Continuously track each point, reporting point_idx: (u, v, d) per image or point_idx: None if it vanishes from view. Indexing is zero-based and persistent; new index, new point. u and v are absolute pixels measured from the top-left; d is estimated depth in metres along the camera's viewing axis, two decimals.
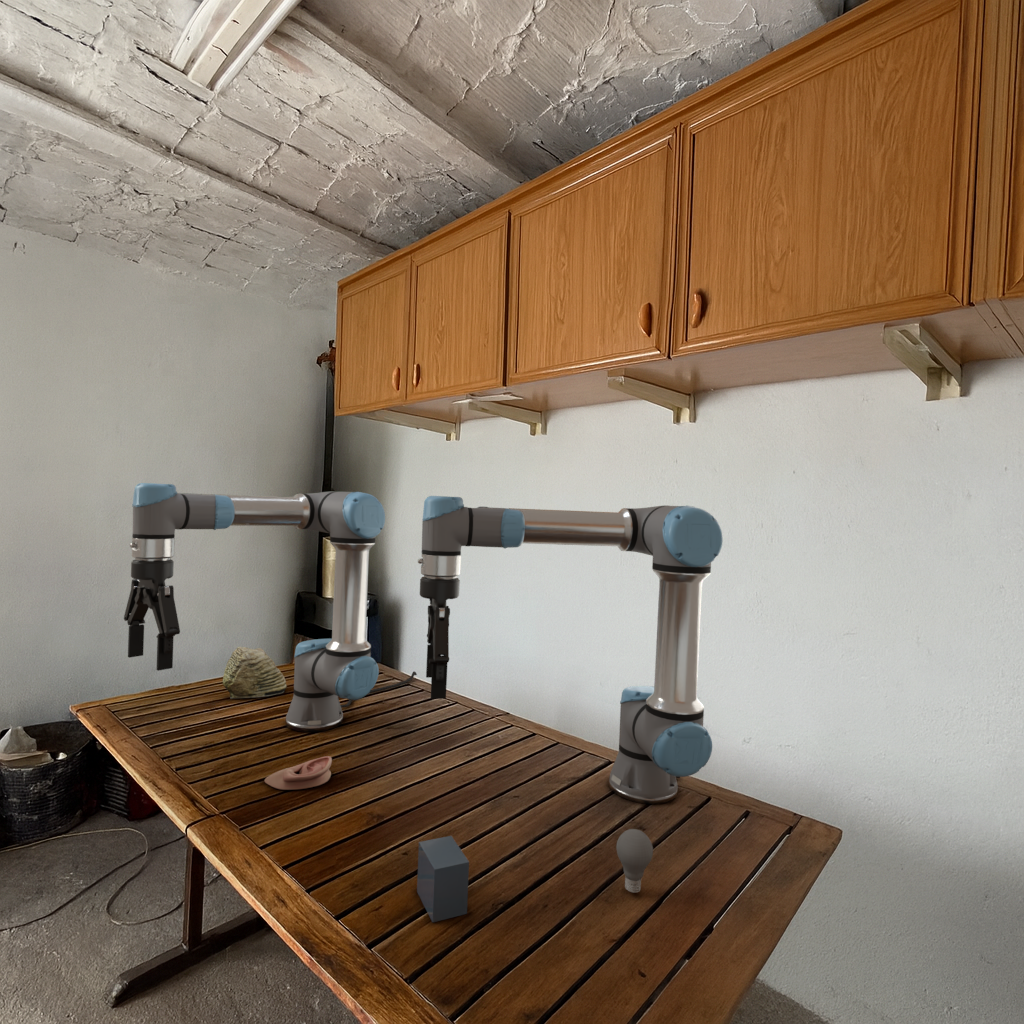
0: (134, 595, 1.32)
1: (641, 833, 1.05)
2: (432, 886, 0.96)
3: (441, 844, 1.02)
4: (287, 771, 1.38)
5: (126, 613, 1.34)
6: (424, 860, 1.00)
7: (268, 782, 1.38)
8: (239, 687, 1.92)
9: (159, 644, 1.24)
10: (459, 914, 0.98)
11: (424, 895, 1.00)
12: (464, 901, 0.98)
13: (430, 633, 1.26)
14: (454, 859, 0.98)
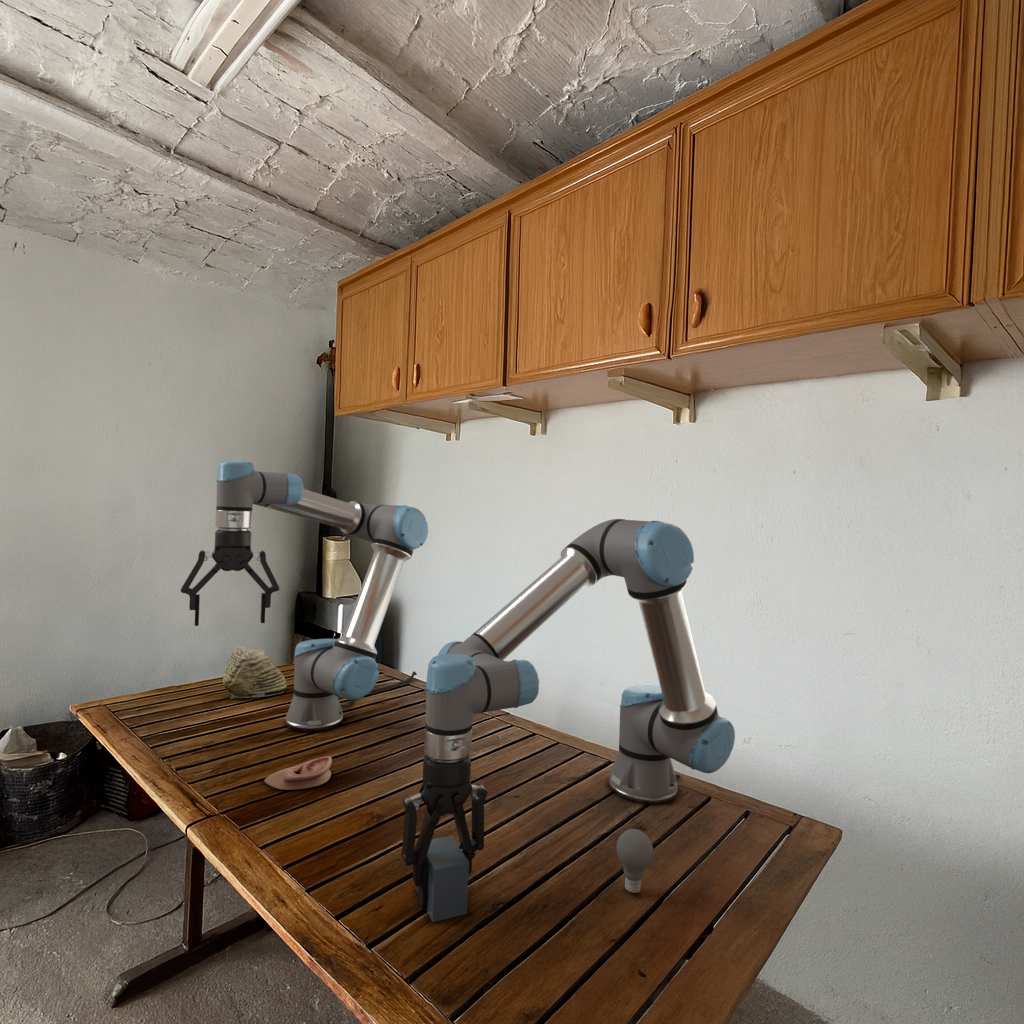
0: None
1: (641, 833, 1.05)
2: (432, 886, 0.96)
3: (441, 844, 1.02)
4: (287, 771, 1.38)
5: (186, 585, 1.38)
6: None
7: (268, 782, 1.38)
8: (239, 687, 1.92)
9: (265, 600, 1.45)
10: (459, 914, 0.98)
11: None
12: (464, 901, 0.98)
13: None
14: (454, 859, 0.98)
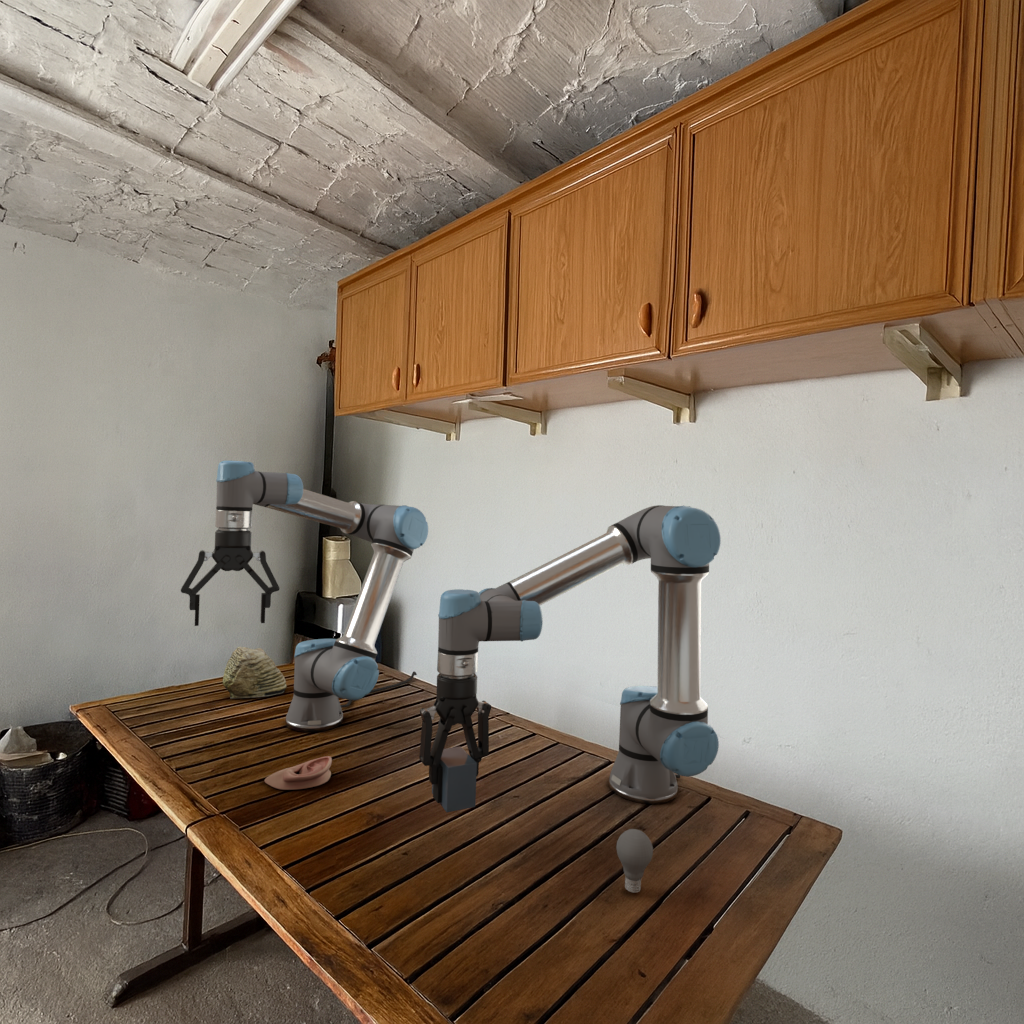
0: None
1: (641, 833, 1.05)
2: (446, 782, 1.14)
3: (452, 752, 1.20)
4: (287, 771, 1.38)
5: (186, 585, 1.38)
6: None
7: (268, 782, 1.38)
8: (239, 687, 1.92)
9: (265, 600, 1.45)
10: (469, 806, 1.15)
11: None
12: (472, 796, 1.16)
13: None
14: (464, 761, 1.16)
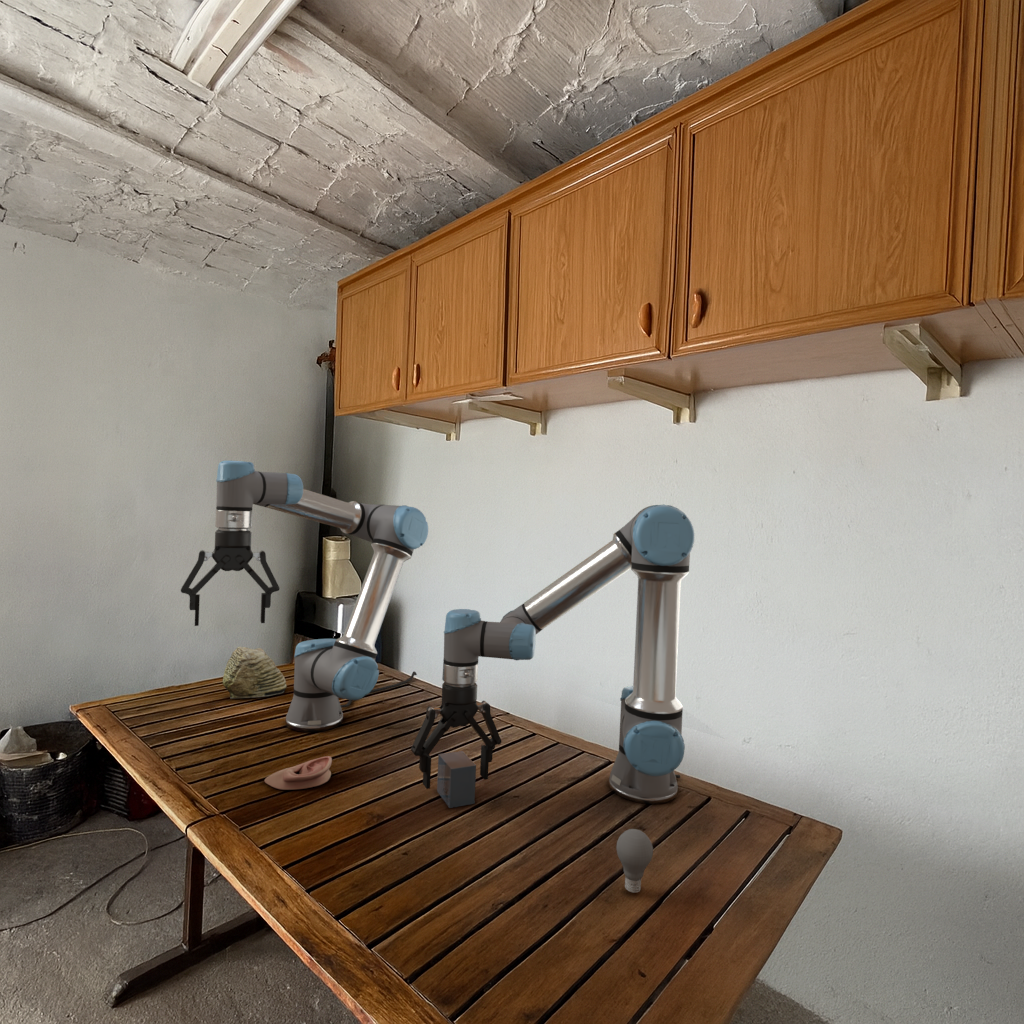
0: None
1: (641, 833, 1.05)
2: (449, 781, 1.32)
3: (455, 755, 1.38)
4: (287, 771, 1.38)
5: (186, 585, 1.38)
6: (443, 765, 1.35)
7: (268, 782, 1.38)
8: (239, 687, 1.92)
9: (265, 600, 1.45)
10: (468, 803, 1.33)
11: (443, 791, 1.35)
12: (472, 794, 1.33)
13: None
14: (465, 763, 1.34)
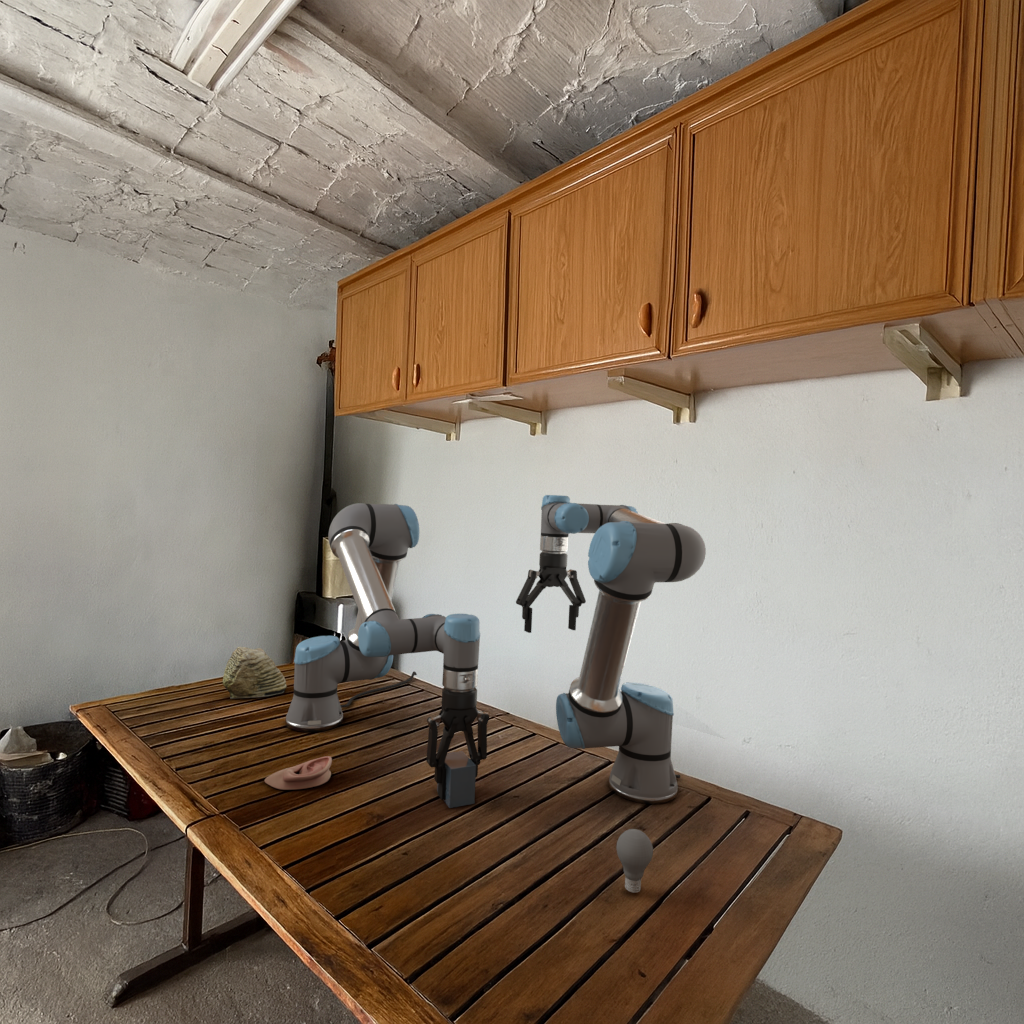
0: None
1: (641, 833, 1.05)
2: (449, 781, 1.32)
3: (455, 755, 1.38)
4: (287, 771, 1.38)
5: (432, 758, 1.32)
6: None
7: (268, 782, 1.38)
8: (239, 687, 1.92)
9: None
10: (468, 803, 1.33)
11: None
12: (472, 794, 1.33)
13: None
14: (465, 763, 1.34)
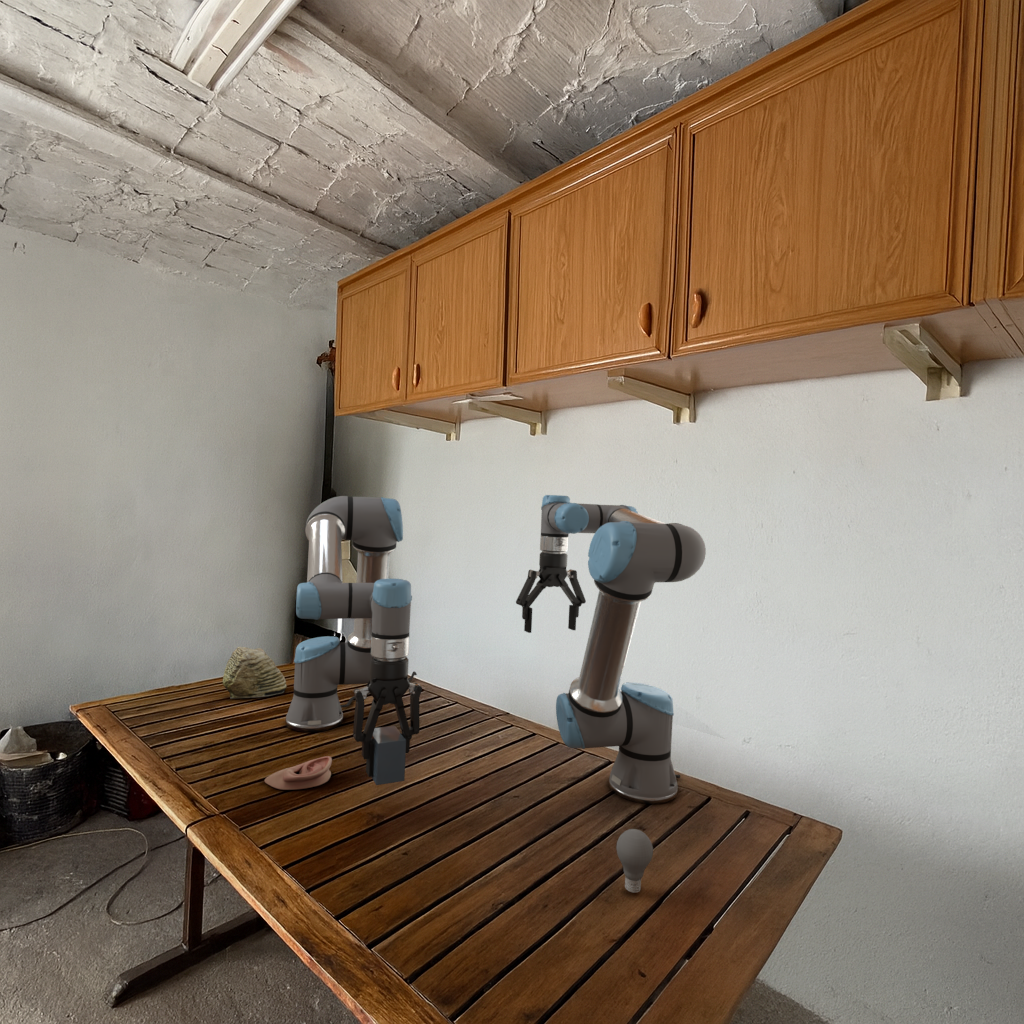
0: None
1: (641, 833, 1.05)
2: (376, 757, 1.23)
3: (385, 730, 1.29)
4: (287, 771, 1.38)
5: (358, 732, 1.23)
6: None
7: (268, 782, 1.38)
8: (239, 687, 1.92)
9: None
10: (398, 780, 1.24)
11: None
12: (402, 770, 1.25)
13: None
14: (394, 738, 1.25)
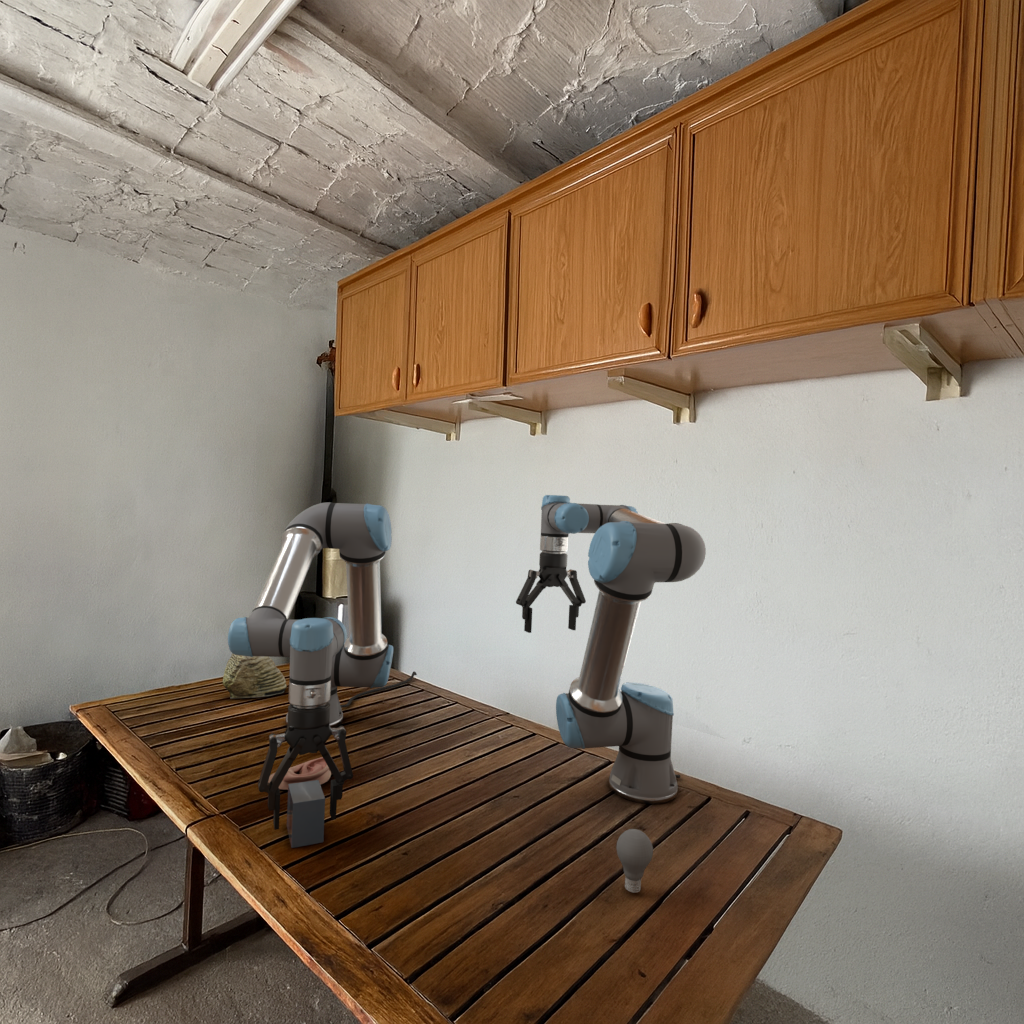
0: (275, 755, 1.15)
1: (641, 833, 1.05)
2: (292, 817, 1.15)
3: (306, 786, 1.21)
4: None
5: (264, 782, 1.14)
6: (290, 798, 1.18)
7: (268, 782, 1.38)
8: (239, 687, 1.92)
9: (336, 792, 1.20)
10: (316, 842, 1.16)
11: (289, 827, 1.18)
12: (320, 831, 1.16)
13: None
14: (313, 796, 1.17)
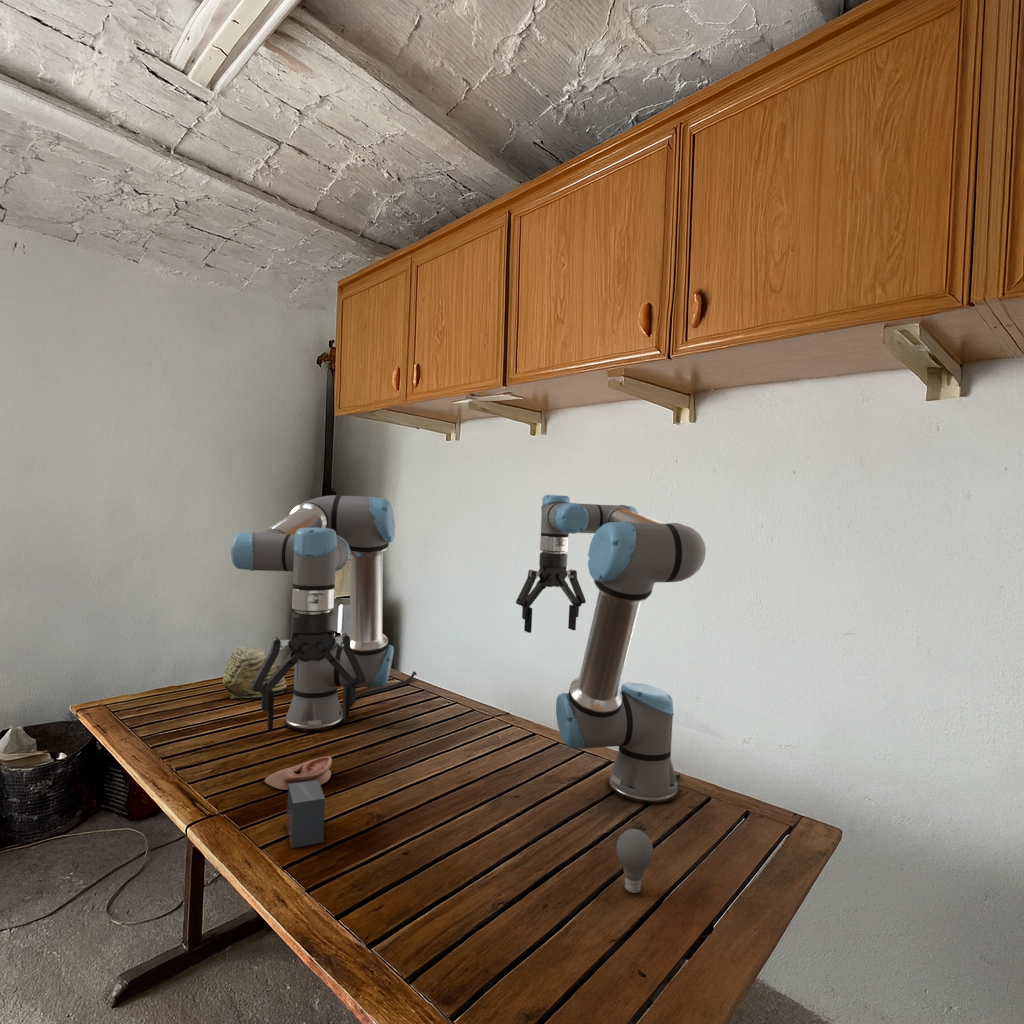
0: (276, 657, 1.15)
1: (641, 833, 1.05)
2: (292, 817, 1.15)
3: (306, 786, 1.21)
4: (287, 771, 1.38)
5: (259, 682, 1.13)
6: (289, 798, 1.18)
7: (268, 782, 1.38)
8: (239, 687, 1.92)
9: (349, 694, 1.20)
10: (316, 842, 1.16)
11: (289, 827, 1.18)
12: (320, 831, 1.16)
13: None
14: (313, 796, 1.17)
